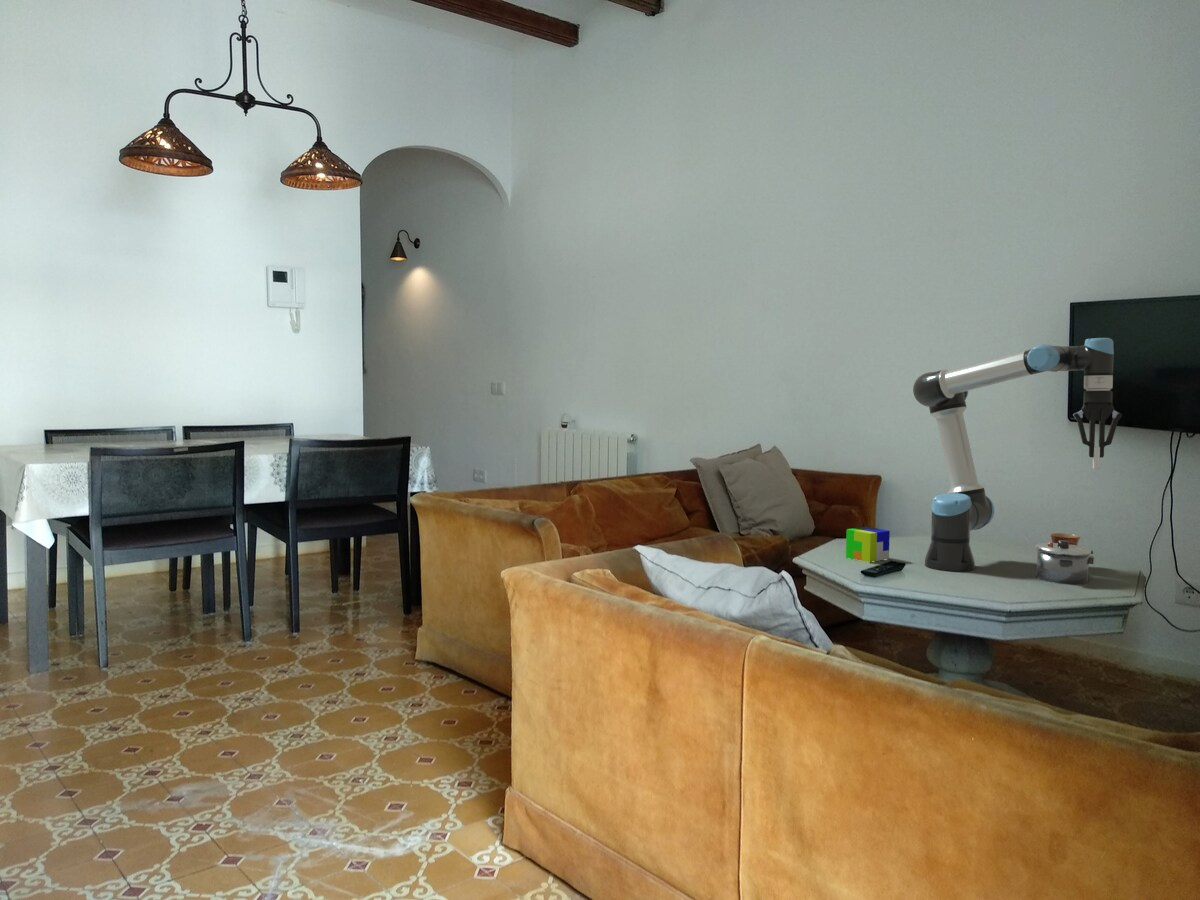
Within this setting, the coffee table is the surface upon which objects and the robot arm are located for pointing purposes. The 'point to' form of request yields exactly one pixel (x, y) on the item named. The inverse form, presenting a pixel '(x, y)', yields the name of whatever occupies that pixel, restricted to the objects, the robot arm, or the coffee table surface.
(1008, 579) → the coffee table surface
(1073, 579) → the pot
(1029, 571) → the coffee table surface
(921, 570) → the coffee table surface
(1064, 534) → the mug
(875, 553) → the puzzle toy
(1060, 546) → the lid
